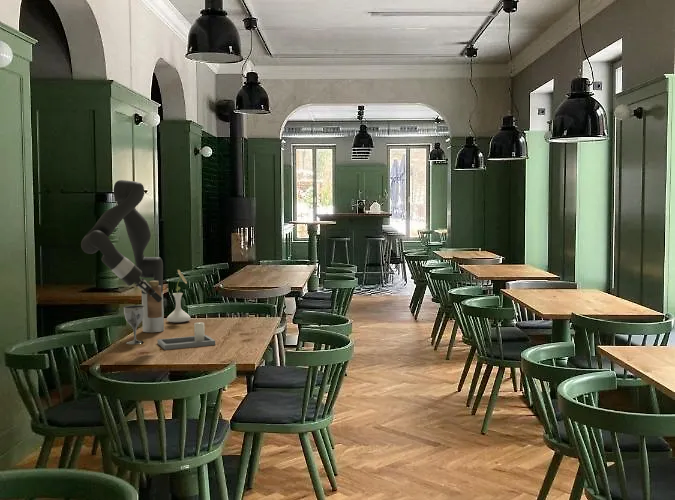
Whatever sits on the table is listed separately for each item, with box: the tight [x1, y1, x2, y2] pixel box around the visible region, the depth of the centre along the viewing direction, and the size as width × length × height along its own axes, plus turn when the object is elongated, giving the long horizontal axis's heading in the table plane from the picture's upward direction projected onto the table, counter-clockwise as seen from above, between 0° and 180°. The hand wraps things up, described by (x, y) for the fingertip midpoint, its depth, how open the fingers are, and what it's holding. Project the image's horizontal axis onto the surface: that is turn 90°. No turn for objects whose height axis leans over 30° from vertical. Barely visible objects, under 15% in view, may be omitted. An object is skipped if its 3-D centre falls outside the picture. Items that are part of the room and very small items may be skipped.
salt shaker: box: [193, 321, 206, 342], centre depth 300 cm, size 4×4×8 cm
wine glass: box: [123, 304, 145, 345], centre depth 306 cm, size 8×8×15 cm
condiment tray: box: [156, 334, 216, 351], centre depth 297 cm, size 14×20×2 cm
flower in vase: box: [166, 269, 192, 323], centre depth 358 cm, size 13×11×25 cm
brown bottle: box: [147, 280, 162, 318], centre depth 292 cm, size 6×6×14 cm
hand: (159, 299), depth 292 cm, fingers closed on brown bottle, 5 cm apart
